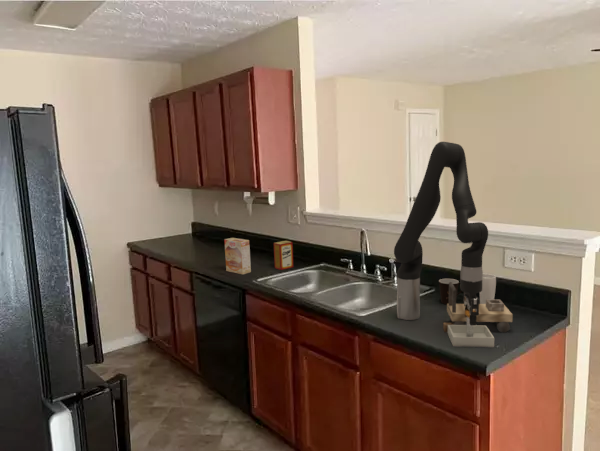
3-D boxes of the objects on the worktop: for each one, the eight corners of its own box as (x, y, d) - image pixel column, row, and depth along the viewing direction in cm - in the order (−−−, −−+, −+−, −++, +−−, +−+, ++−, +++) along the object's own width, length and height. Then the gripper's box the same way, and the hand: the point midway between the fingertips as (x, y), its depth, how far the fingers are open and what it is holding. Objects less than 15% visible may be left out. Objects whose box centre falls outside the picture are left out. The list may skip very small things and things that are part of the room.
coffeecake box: (225, 271, 290) (223, 239, 286) (234, 268, 295) (232, 237, 292) (242, 274, 280) (240, 241, 277) (251, 272, 285) (249, 239, 282)
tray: (453, 346, 171) (453, 337, 171) (447, 333, 183) (447, 324, 183) (494, 347, 170) (494, 337, 169) (485, 334, 181) (485, 325, 181)
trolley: (451, 331, 185) (452, 289, 182) (446, 320, 197) (447, 281, 194) (511, 332, 182) (513, 290, 179) (503, 321, 194) (504, 281, 191)
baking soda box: (280, 270, 287) (279, 243, 285) (274, 268, 293) (273, 242, 290) (293, 267, 293) (292, 241, 290) (287, 265, 298) (286, 240, 296)
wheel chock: (444, 332, 185) (444, 325, 184) (443, 329, 187) (443, 322, 187) (454, 332, 184) (454, 325, 184) (452, 329, 187) (452, 322, 186)
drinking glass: (478, 306, 212) (479, 273, 210) (495, 307, 210) (496, 274, 207) (477, 311, 206) (478, 277, 204) (494, 312, 203) (496, 278, 201)
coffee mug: (438, 304, 216) (438, 283, 214) (438, 299, 224) (438, 278, 222) (465, 306, 213) (466, 284, 211) (464, 300, 221) (465, 279, 219)
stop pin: (465, 339, 176) (466, 312, 174) (463, 335, 179) (464, 309, 177) (475, 339, 175) (476, 312, 173) (473, 335, 179) (474, 309, 177)
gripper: (456, 272, 180) (456, 313, 183) (464, 283, 166) (463, 327, 169) (477, 272, 179) (476, 314, 182) (487, 283, 165) (485, 328, 168)
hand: (470, 320), depth 175 cm, fingers open, 8 cm apart
